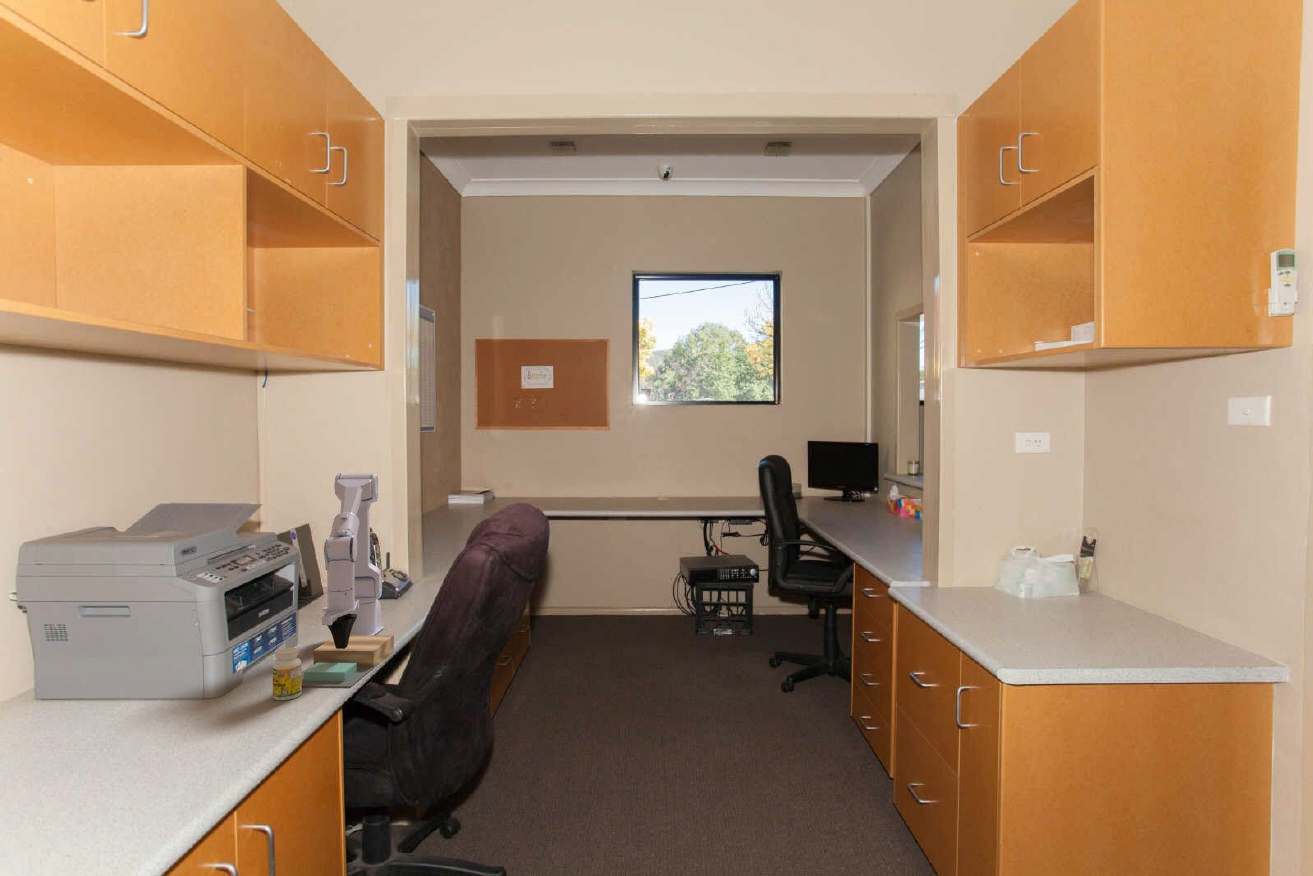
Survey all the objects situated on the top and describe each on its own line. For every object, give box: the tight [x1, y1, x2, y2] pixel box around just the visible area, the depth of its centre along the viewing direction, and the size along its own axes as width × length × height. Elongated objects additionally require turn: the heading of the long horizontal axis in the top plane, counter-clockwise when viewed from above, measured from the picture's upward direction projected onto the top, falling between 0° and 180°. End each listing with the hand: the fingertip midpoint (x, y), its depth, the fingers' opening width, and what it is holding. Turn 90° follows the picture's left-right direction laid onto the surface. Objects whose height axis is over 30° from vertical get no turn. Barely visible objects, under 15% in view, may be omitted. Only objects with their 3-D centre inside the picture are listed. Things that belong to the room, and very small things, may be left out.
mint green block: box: [303, 663, 357, 681], centre depth 161 cm, size 6×9×2 cm, turn 89°
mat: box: [302, 667, 375, 689], centre depth 162 cm, size 12×14×1 cm
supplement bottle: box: [271, 647, 303, 701], centre depth 151 cm, size 5×5×10 cm
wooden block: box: [313, 634, 395, 669], centre depth 174 cm, size 12×14×4 cm
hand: (341, 647), depth 167 cm, fingers closed
